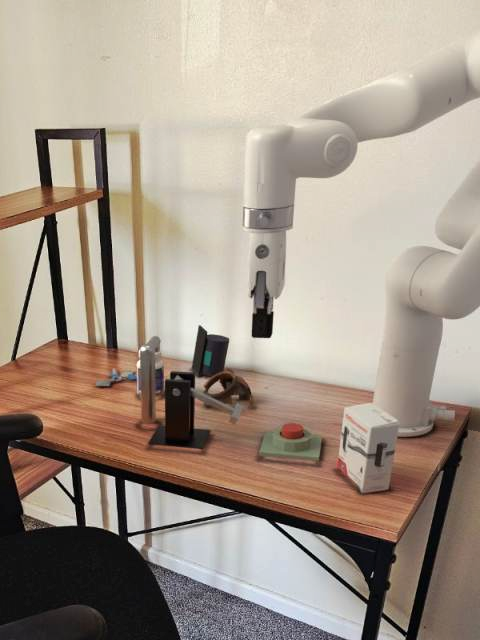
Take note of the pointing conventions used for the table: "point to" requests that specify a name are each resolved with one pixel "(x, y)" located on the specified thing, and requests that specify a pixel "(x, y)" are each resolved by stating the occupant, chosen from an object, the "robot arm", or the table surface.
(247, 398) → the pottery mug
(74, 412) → the table surface
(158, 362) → the pill bottle
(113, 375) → the key chain
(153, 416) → the spout
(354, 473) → the ink box
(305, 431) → the button housing
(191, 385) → the black lever stand
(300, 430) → the button
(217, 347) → the speaker
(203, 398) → the tap lever
